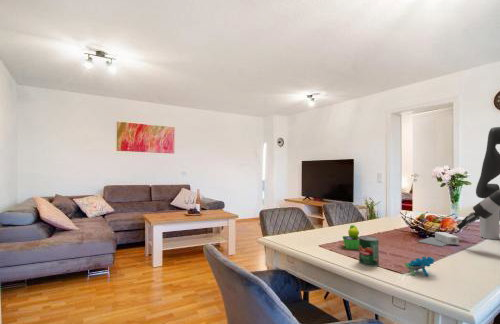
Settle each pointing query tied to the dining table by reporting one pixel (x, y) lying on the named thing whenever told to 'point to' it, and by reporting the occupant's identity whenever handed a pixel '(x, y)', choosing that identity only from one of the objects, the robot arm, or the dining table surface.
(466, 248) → the dining table surface
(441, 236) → the skincare box
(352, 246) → the fruit basket
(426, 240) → the mat
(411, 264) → the toy dinosaur
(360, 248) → the canned tomato
